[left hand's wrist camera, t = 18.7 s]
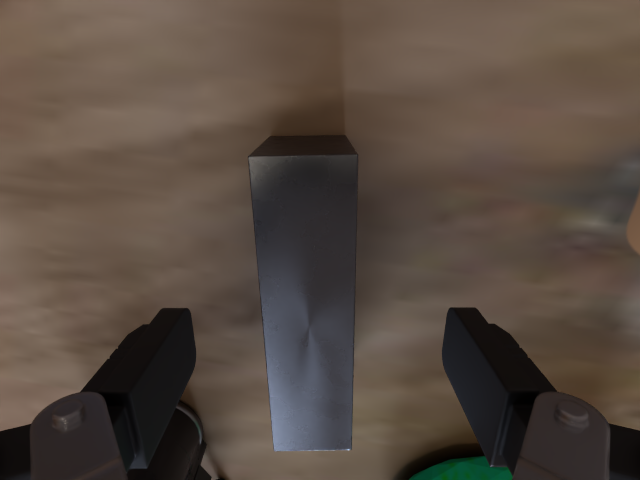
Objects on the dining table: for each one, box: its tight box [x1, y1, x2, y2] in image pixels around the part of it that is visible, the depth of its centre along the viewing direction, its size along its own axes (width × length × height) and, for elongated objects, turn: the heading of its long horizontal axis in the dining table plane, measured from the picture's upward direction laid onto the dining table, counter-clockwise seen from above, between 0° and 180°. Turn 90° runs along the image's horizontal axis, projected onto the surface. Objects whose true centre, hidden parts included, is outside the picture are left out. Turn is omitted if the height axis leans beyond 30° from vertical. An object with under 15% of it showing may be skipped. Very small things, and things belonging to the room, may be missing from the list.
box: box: [248, 135, 358, 451], centre depth 28 cm, size 22×6×10 cm, turn 1°
